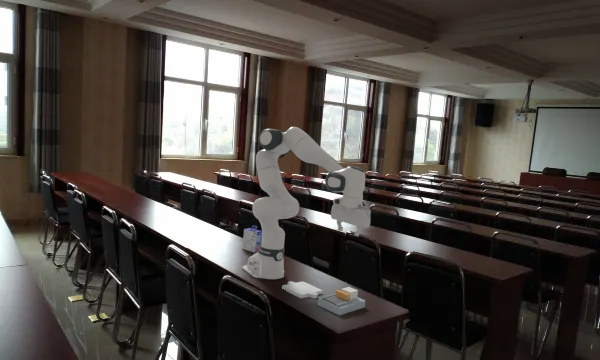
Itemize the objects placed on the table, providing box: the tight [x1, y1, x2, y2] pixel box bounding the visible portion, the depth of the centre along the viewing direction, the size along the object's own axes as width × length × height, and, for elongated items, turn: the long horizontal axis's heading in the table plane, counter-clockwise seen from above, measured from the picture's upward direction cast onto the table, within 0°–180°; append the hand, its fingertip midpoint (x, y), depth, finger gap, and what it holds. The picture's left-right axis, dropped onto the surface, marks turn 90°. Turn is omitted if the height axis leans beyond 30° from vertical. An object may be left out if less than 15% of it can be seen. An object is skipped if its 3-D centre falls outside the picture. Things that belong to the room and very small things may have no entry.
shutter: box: [324, 289, 349, 305], centre depth 180 cm, size 7×8×3 cm
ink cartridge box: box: [241, 225, 262, 253], centre depth 254 cm, size 10×6×14 cm, turn 58°
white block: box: [340, 286, 359, 301], centre depth 186 cm, size 5×5×6 cm
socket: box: [317, 293, 366, 316], centre depth 183 cm, size 12×16×4 cm
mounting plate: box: [281, 280, 323, 299], centre depth 196 cm, size 18×13×2 cm
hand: (348, 233), depth 194 cm, fingers open, 8 cm apart
